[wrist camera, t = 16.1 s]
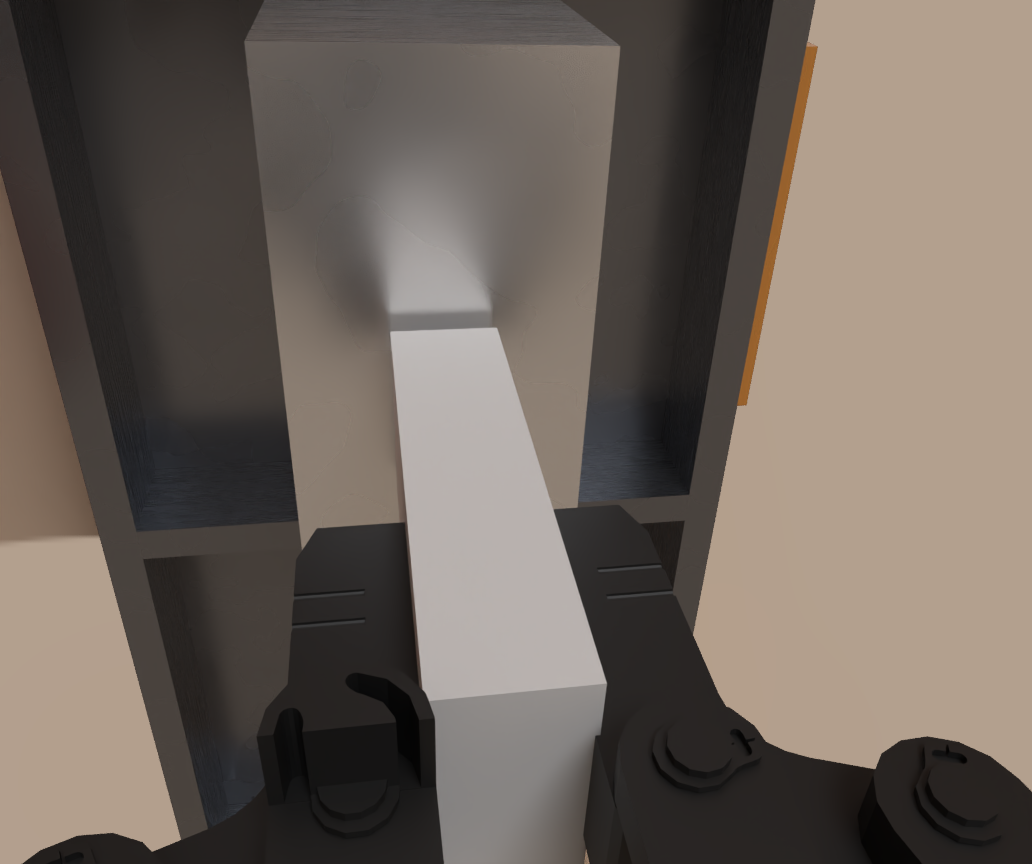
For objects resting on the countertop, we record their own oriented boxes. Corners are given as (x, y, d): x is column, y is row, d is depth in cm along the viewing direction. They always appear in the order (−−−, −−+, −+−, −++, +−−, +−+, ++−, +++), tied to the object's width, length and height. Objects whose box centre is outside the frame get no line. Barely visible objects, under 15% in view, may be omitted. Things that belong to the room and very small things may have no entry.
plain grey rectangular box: (323, 414, 23) (313, 653, 16) (282, -38, 17) (243, 41, 11) (503, 406, 23) (565, 632, 17) (518, -32, 18) (620, 46, 11)
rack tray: (209, 795, 31) (195, 894, 28) (-17, -182, 16) (-95, -186, 13) (637, 749, 33) (665, 836, 30) (783, -149, 18) (865, -145, 16)
